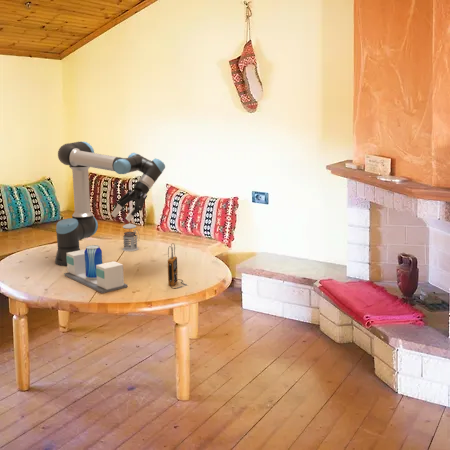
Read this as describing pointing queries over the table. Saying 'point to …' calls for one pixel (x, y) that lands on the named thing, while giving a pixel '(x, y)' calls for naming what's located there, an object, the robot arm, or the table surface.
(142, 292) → the table surface
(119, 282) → the rail board
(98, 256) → the beer can
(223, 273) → the table surface
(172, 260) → the multimeter
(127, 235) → the french press
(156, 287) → the table surface
